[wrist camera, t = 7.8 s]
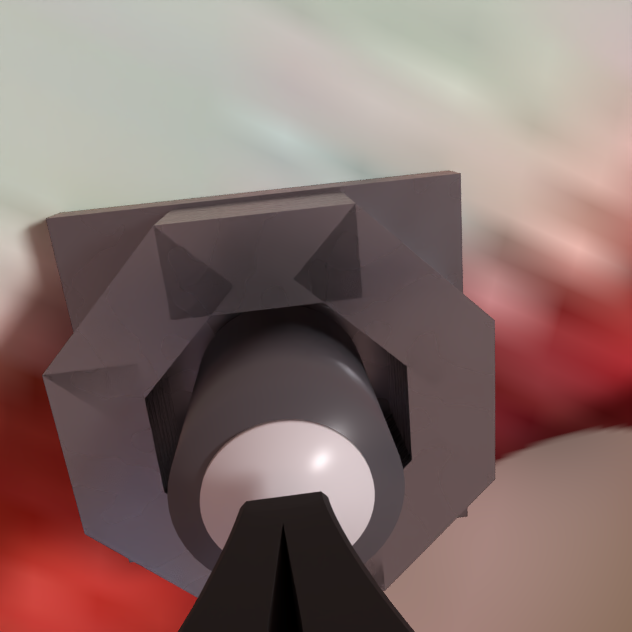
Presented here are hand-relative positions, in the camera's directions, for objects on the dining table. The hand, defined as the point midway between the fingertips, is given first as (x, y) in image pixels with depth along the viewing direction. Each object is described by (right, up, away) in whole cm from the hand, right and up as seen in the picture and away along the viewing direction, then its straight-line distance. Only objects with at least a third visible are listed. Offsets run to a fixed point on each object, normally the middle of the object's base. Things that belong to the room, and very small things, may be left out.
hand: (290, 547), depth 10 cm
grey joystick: (-1, +2, +7) cm, 7 cm away
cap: (0, +2, +6) cm, 6 cm away
